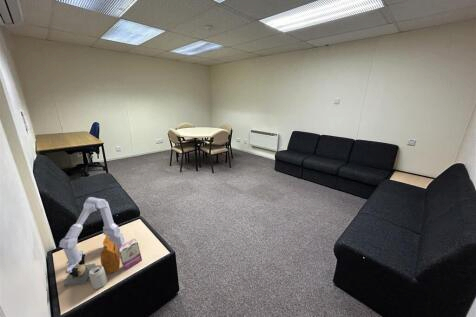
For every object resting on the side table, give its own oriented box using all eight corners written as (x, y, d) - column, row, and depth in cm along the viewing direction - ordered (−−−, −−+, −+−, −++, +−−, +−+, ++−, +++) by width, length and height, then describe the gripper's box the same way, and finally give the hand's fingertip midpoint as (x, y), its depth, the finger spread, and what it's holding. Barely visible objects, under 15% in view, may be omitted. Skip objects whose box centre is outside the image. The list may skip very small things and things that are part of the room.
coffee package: (122, 256, 140) (116, 231, 132) (120, 271, 129) (112, 245, 121) (106, 260, 137) (98, 235, 129) (102, 276, 126) (93, 249, 118)
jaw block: (86, 272, 129) (83, 264, 126) (83, 278, 125) (80, 270, 122) (78, 273, 128) (75, 265, 125) (75, 280, 124) (71, 271, 121)
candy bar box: (139, 256, 141) (135, 237, 135) (142, 260, 137) (138, 241, 131) (122, 266, 133) (116, 247, 127) (125, 270, 130) (119, 251, 124)
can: (97, 292, 117) (91, 277, 112) (90, 285, 121) (85, 271, 116) (110, 281, 123) (105, 267, 118) (103, 275, 126) (99, 261, 122)
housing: (96, 266, 133) (95, 263, 132) (87, 283, 122) (86, 280, 121) (75, 269, 131) (74, 266, 130) (64, 286, 120) (63, 283, 119)
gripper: (71, 246, 125) (78, 262, 131) (57, 266, 112) (65, 283, 117) (84, 244, 127) (90, 260, 132) (71, 263, 114) (78, 280, 119)
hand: (79, 271), depth 125 cm, fingers open, 7 cm apart
